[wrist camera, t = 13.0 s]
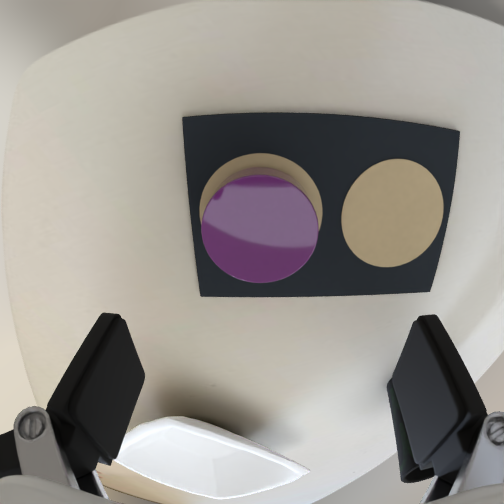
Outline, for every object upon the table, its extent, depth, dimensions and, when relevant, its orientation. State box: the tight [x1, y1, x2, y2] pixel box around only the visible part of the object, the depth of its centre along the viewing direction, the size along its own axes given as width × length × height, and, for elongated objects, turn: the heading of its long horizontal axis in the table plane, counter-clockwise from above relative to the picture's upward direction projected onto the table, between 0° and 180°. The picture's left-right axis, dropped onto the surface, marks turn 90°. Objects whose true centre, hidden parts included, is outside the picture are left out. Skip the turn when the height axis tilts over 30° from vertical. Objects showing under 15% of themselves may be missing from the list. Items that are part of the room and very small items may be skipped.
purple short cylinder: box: [201, 167, 319, 283], centre depth 20 cm, size 7×7×3 cm
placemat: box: [182, 113, 460, 297], centre depth 21 cm, size 14×20×1 cm
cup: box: [387, 378, 435, 483], centre depth 25 cm, size 8×8×12 cm
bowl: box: [115, 416, 310, 499], centre depth 34 cm, size 22×23×6 cm
